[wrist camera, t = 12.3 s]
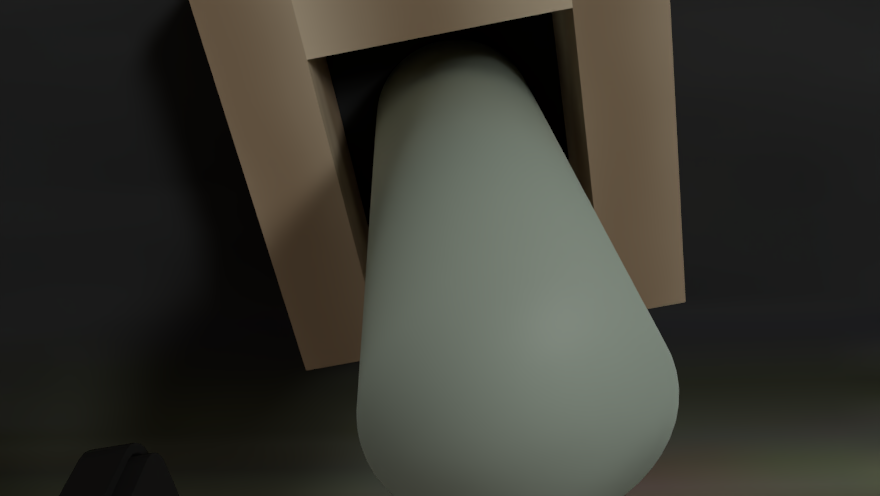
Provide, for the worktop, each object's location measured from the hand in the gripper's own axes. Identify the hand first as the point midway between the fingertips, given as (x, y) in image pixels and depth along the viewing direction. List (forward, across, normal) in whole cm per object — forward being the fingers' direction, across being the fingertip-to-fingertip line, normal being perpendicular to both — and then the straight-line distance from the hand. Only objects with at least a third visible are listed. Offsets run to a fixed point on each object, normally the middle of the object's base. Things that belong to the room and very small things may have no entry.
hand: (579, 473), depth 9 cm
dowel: (+13, +1, 0) cm, 13 cm away
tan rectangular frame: (+13, +1, 0) cm, 13 cm away
